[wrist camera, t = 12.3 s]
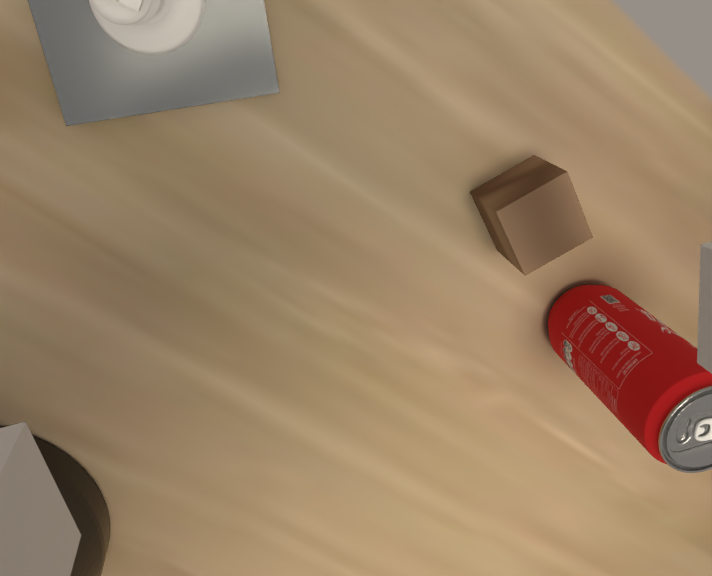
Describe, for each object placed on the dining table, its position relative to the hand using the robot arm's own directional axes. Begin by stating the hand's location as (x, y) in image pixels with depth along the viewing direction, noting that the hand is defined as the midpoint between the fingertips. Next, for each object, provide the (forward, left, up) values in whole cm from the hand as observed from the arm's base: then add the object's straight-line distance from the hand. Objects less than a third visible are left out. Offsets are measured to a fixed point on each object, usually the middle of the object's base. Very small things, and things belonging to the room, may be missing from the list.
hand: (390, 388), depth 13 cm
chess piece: (-5, +8, -23) cm, 24 cm away
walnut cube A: (+12, -5, -23) cm, 27 cm away
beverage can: (+16, -13, -23) cm, 31 cm away
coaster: (-5, +8, -23) cm, 25 cm away
